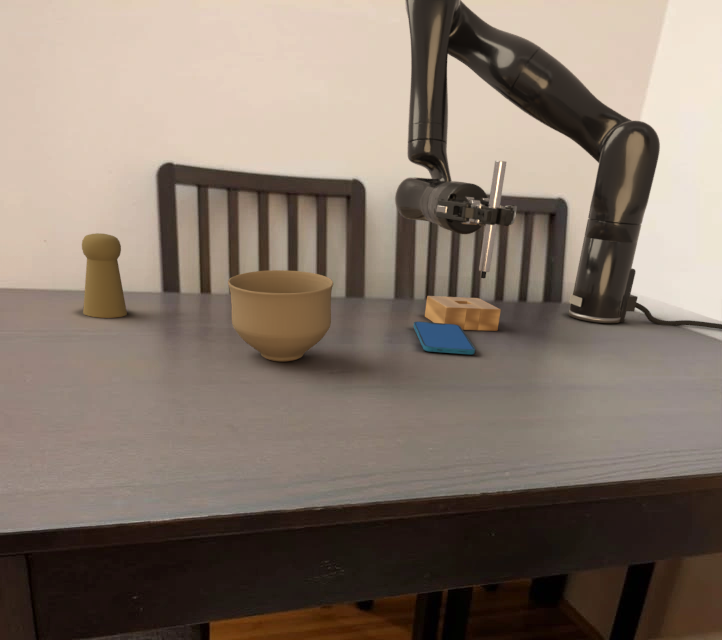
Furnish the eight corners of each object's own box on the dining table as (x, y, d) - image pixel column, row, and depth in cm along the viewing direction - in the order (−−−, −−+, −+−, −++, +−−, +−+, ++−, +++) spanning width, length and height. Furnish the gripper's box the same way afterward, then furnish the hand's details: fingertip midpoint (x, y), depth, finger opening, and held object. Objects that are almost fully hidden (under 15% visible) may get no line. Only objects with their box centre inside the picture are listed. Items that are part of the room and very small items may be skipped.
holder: (475, 318, 127) (478, 298, 125) (497, 331, 118) (501, 309, 117) (424, 316, 124) (427, 295, 123) (443, 329, 116) (446, 307, 115)
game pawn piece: (93, 318, 102) (88, 237, 98) (76, 310, 106) (70, 231, 102) (134, 316, 106) (131, 237, 101) (116, 307, 110) (112, 231, 105)
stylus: (485, 277, 109) (503, 161, 103) (490, 279, 108) (508, 161, 101) (476, 276, 109) (493, 160, 102) (480, 278, 107) (497, 160, 101)
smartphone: (424, 346, 100) (412, 321, 114) (423, 353, 101) (412, 327, 114) (476, 350, 101) (459, 324, 115) (475, 357, 101) (458, 330, 115)
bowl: (206, 353, 91) (206, 271, 87) (280, 341, 100) (283, 266, 96) (275, 378, 83) (279, 289, 79) (349, 362, 92) (355, 282, 88)
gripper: (419, 178, 114) (459, 184, 99) (500, 185, 117) (550, 192, 102) (414, 228, 117) (452, 242, 102) (492, 234, 120) (540, 248, 105)
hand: (501, 217), depth 102 cm, fingers closed on stylus, 1 cm apart
